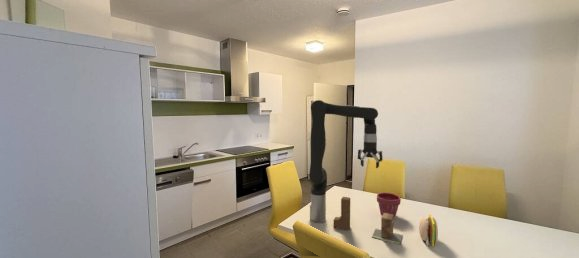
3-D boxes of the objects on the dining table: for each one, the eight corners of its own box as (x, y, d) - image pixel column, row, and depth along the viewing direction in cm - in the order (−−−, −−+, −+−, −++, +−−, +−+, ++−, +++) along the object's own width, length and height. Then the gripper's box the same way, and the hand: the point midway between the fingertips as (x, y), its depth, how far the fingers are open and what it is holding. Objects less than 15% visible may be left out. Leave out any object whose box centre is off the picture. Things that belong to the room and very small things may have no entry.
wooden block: (333, 227, 143) (333, 197, 141) (335, 223, 147) (335, 195, 145) (348, 230, 139) (348, 200, 137) (350, 226, 143) (350, 197, 141)
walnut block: (381, 237, 130) (381, 217, 129) (383, 231, 136) (383, 212, 135) (391, 239, 127) (391, 219, 126) (393, 233, 133) (393, 214, 132)
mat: (371, 237, 131) (371, 236, 131) (375, 229, 139) (375, 228, 139) (400, 244, 123) (400, 243, 123) (402, 235, 132) (402, 234, 132)
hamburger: (417, 233, 135) (418, 212, 134) (434, 235, 131) (435, 214, 130) (420, 244, 124) (421, 221, 122) (439, 247, 120) (439, 224, 119)
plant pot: (395, 210, 164) (396, 192, 162) (403, 220, 150) (404, 200, 148) (374, 210, 165) (374, 192, 164) (379, 219, 151) (380, 200, 150)
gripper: (356, 140, 146) (356, 167, 147) (381, 142, 139) (380, 169, 140) (360, 139, 152) (359, 164, 154) (383, 140, 145) (383, 167, 146)
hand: (369, 167), depth 147 cm, fingers open, 8 cm apart
